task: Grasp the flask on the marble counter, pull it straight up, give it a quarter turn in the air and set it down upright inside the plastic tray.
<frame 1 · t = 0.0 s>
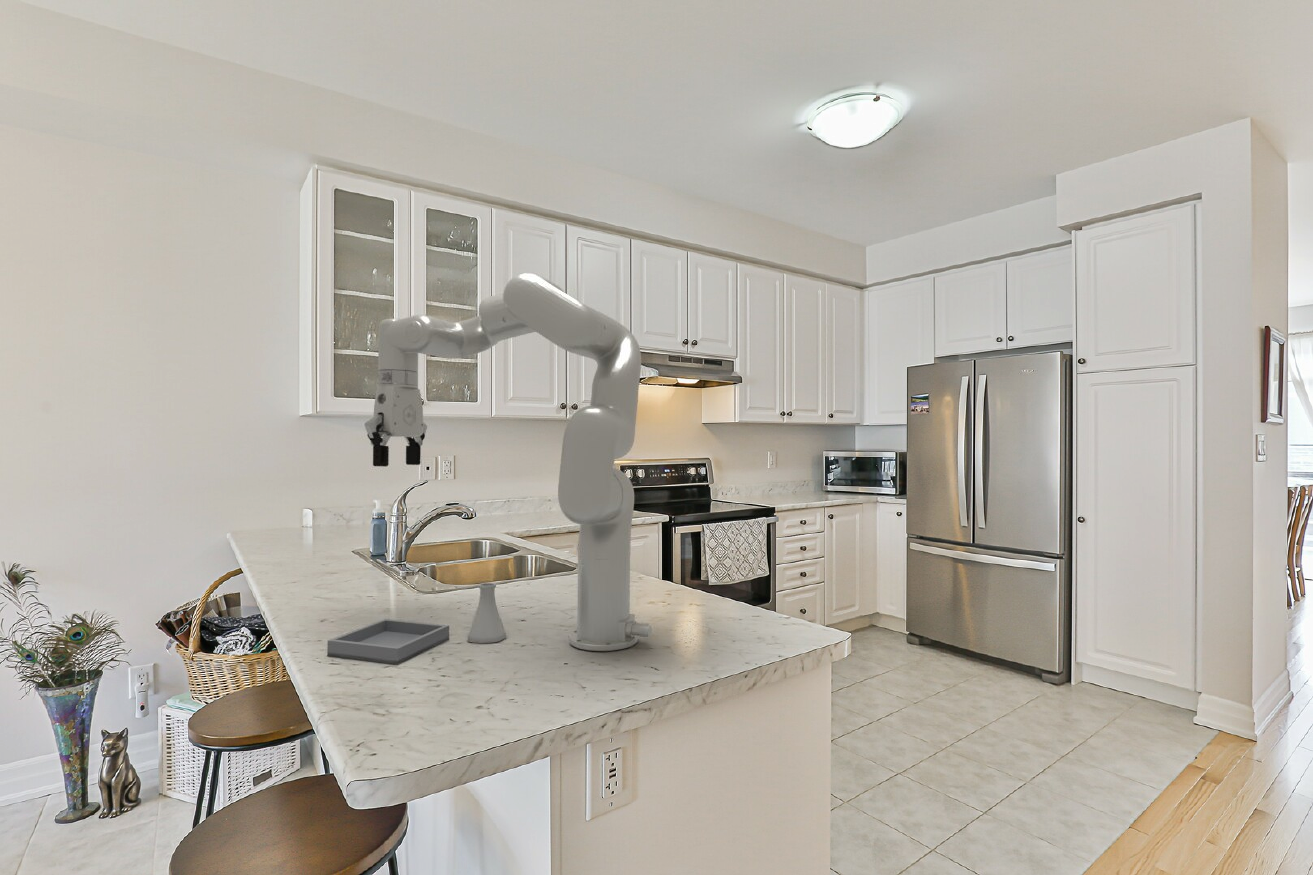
hand: (397, 465, 131), 31 cm above the counter, fingers open, 9 cm apart
tray: (390, 647, 113), on the counter
flask: (487, 639, 119), on the counter
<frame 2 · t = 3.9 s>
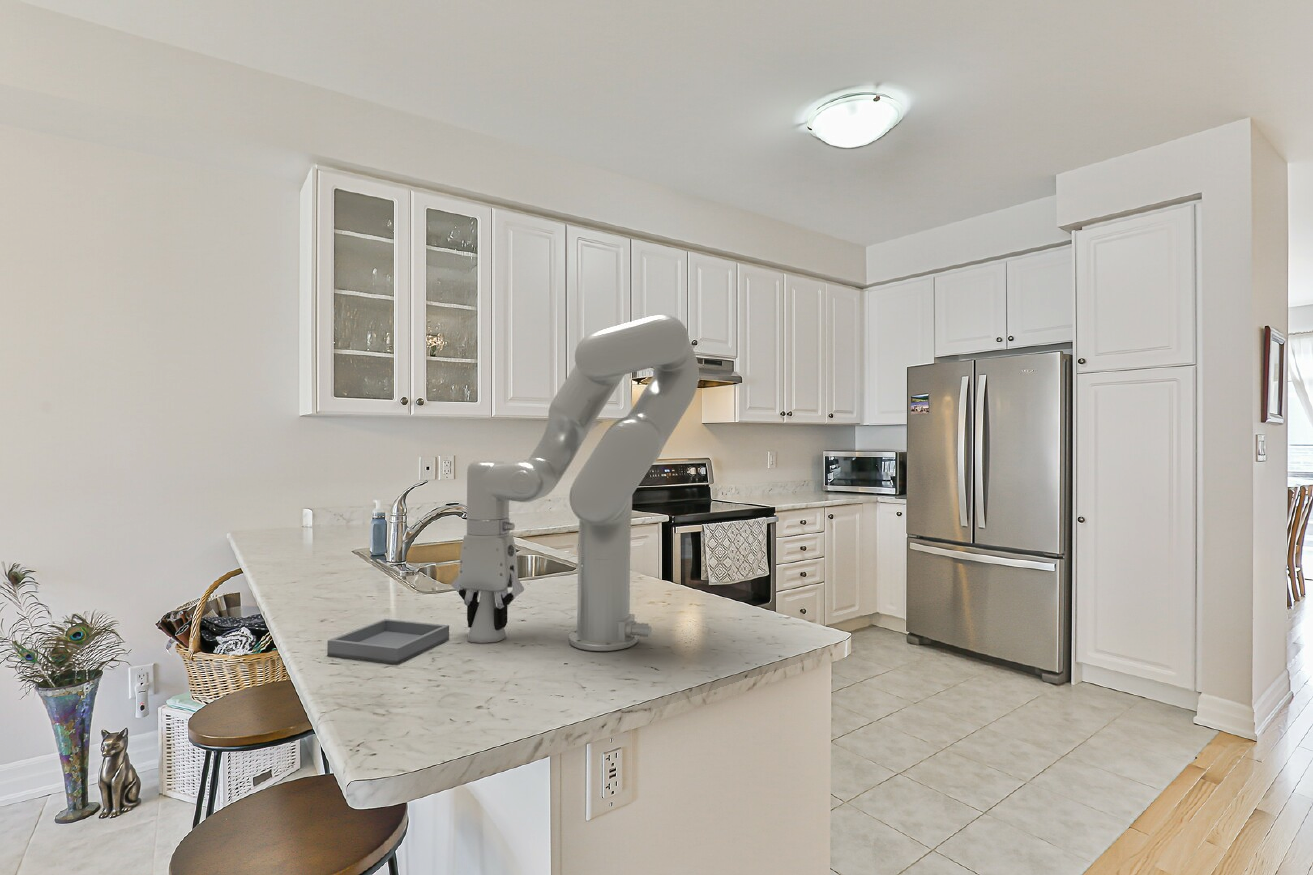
hand: (487, 625, 119), 2 cm above the counter, fingers closed on flask, 4 cm apart
flask: (487, 639, 119), on the counter, touching gripper
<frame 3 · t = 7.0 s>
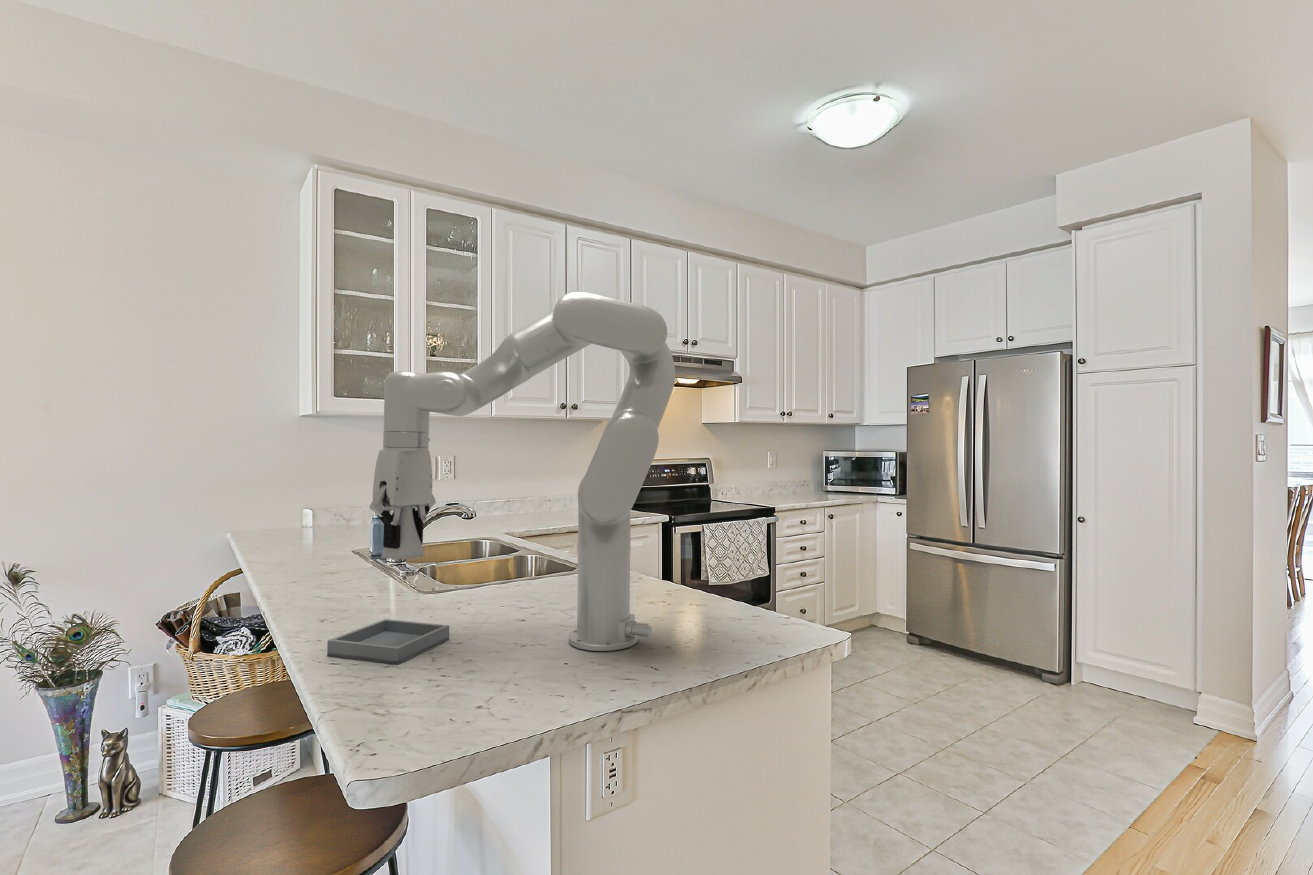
hand: (403, 544, 114), 18 cm above the counter, fingers closed on flask, 4 cm apart
flask: (403, 558, 114), point 15 cm above the counter, touching gripper
when the fingers open (4 cm above the counter, at t = 10.1 s): flask drops 1 cm, resting on tray.
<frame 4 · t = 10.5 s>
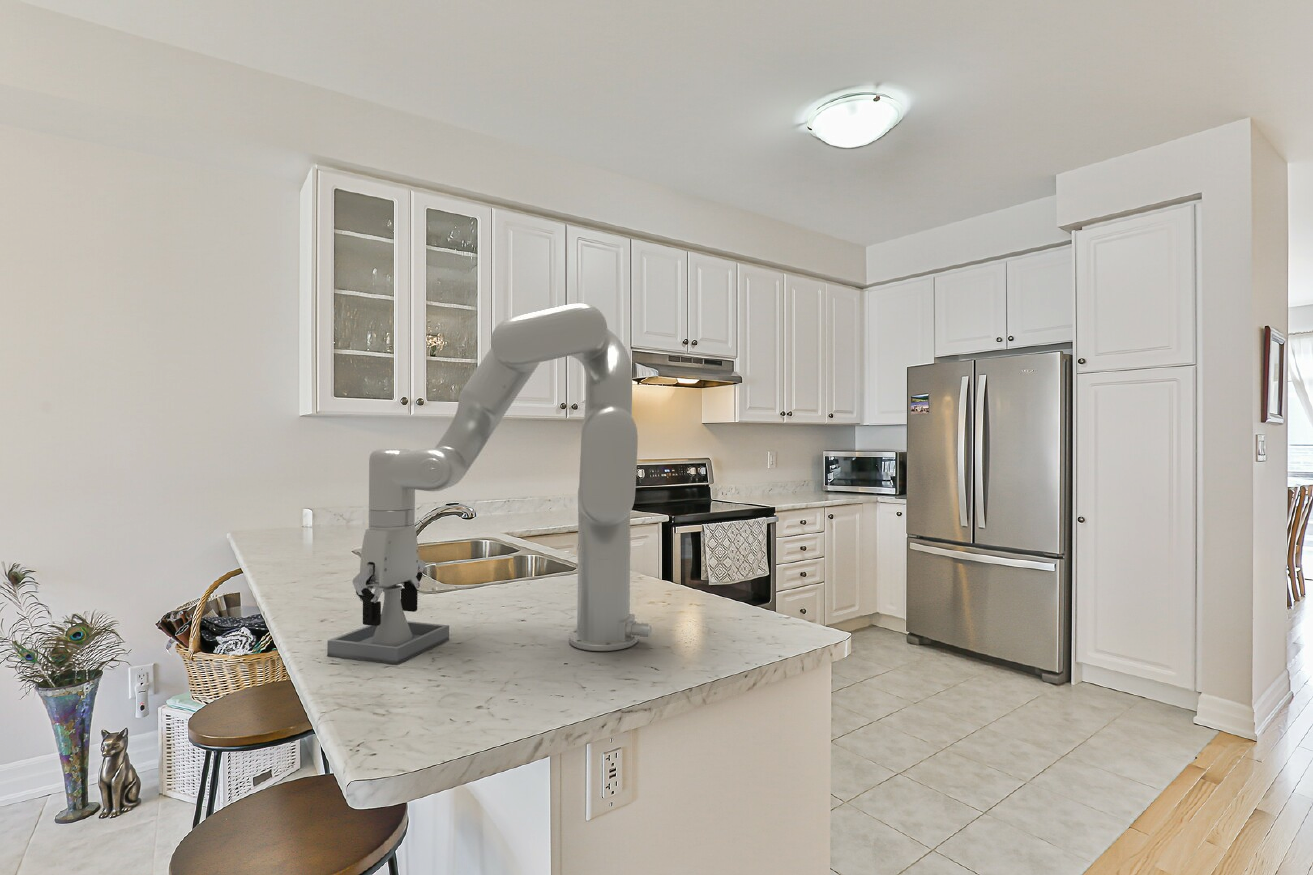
hand: (391, 617, 114), 5 cm above the counter, fingers open, 9 cm apart
flask: (391, 645, 114), resting on tray
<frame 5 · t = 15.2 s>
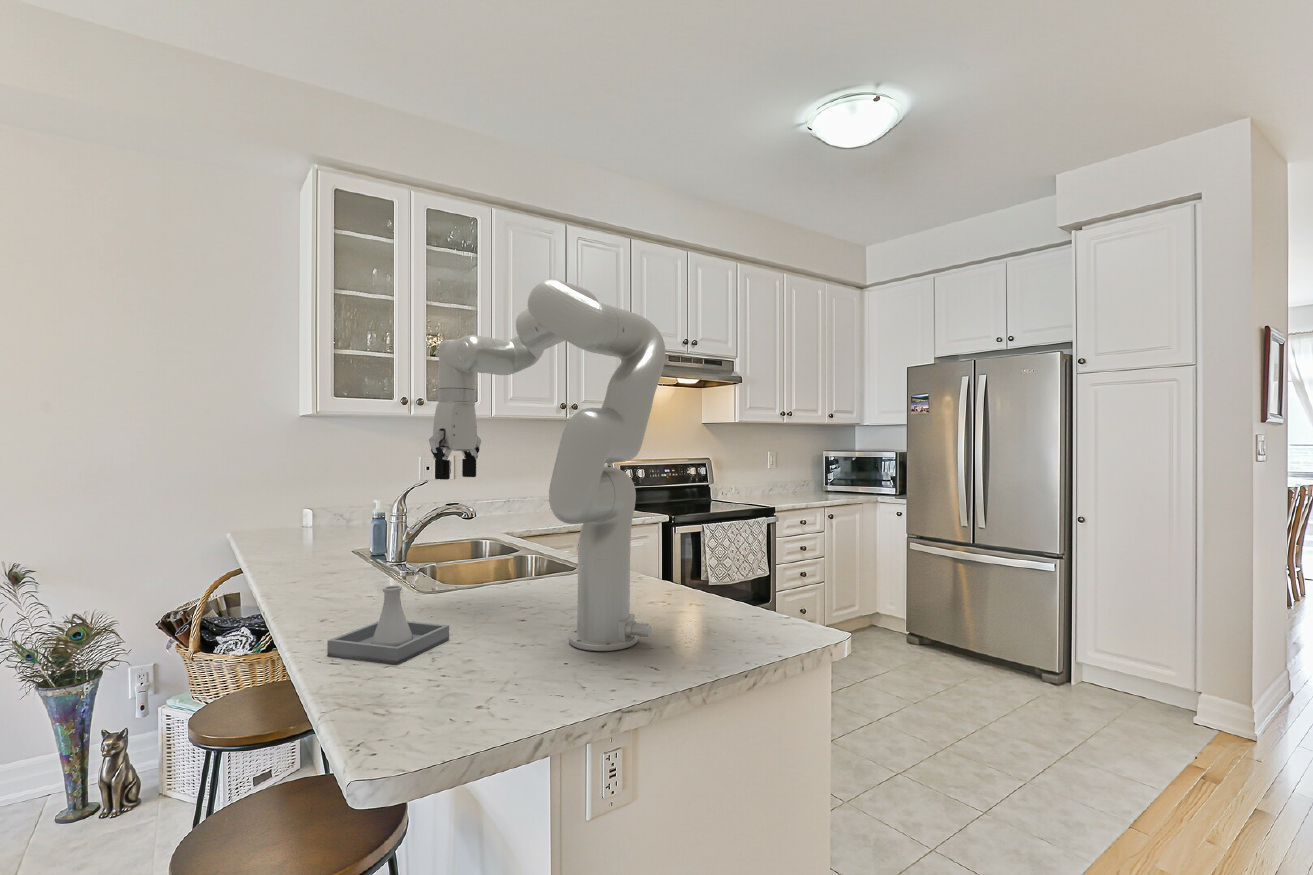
hand: (456, 478, 139), 28 cm above the counter, fingers open, 9 cm apart
nothing on the counter moved.
at the end: flask inside the target area on the tray (0.2 cm from its centre), point 0.4 cm above the tray's base; flask tilted 0°; the gripper is holding nothing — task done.
